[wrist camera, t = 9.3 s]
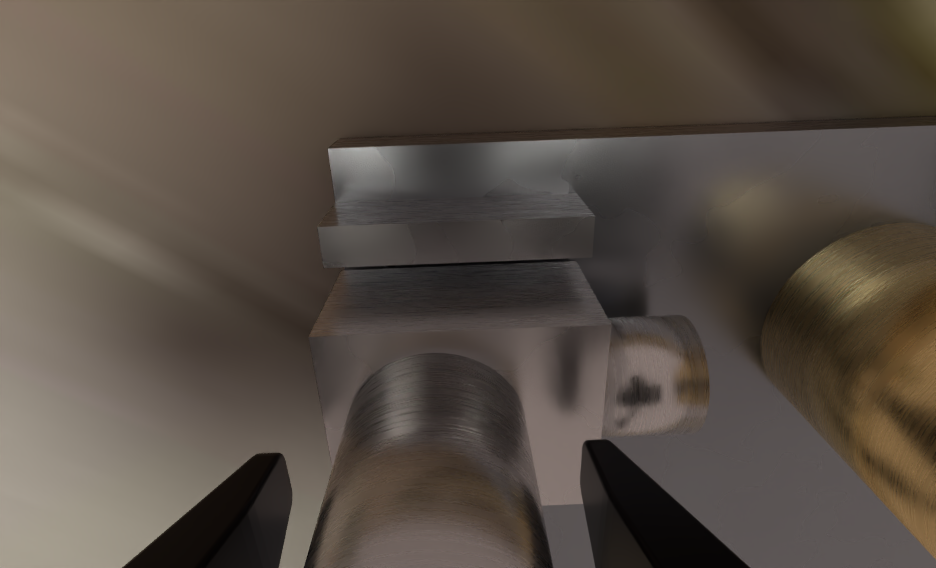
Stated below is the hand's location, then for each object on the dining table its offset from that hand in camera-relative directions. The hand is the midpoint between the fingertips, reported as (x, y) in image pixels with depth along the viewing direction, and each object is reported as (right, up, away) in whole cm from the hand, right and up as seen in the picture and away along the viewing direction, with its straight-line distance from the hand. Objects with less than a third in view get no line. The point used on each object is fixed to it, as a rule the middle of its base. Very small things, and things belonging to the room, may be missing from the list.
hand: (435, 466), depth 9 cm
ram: (+1, +2, +3) cm, 4 cm away
